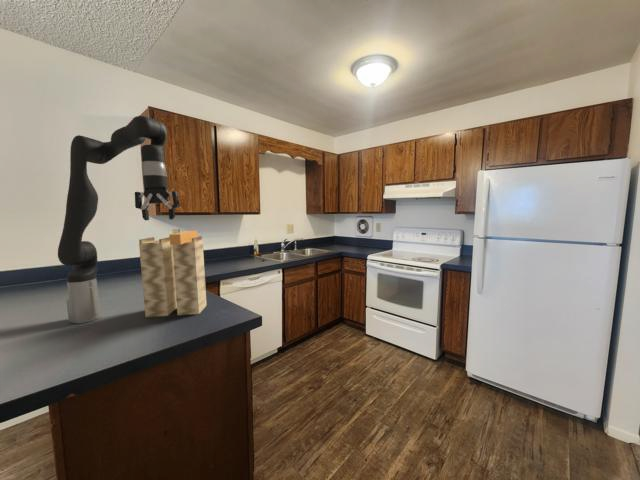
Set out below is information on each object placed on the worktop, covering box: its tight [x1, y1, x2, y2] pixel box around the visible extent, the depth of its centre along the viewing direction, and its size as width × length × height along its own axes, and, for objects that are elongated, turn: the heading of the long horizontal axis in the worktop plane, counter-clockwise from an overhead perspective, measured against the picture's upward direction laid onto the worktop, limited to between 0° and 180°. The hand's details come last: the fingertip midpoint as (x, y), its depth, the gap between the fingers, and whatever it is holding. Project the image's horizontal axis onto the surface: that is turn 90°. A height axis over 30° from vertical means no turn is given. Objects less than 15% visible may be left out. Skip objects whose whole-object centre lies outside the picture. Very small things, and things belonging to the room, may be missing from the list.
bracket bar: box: [168, 230, 198, 245], centre depth 114 cm, size 4×20×4 cm, turn 7°
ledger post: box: [172, 235, 207, 316], centre depth 119 cm, size 9×11×34 cm
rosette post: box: [138, 236, 177, 318], centre depth 118 cm, size 9×11×34 cm
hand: (159, 219), depth 98 cm, fingers open, 8 cm apart
